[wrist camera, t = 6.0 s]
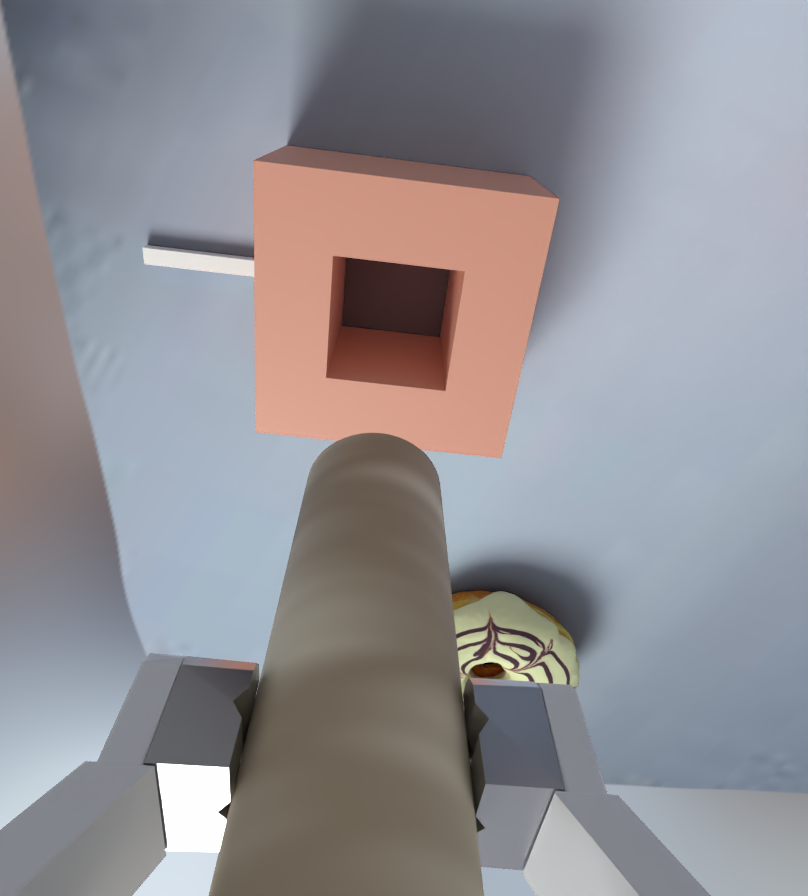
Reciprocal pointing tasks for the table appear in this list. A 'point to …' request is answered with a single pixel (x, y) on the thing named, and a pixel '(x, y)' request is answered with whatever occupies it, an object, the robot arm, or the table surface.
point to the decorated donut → (511, 640)
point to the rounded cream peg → (359, 699)
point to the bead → (404, 242)
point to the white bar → (198, 260)
